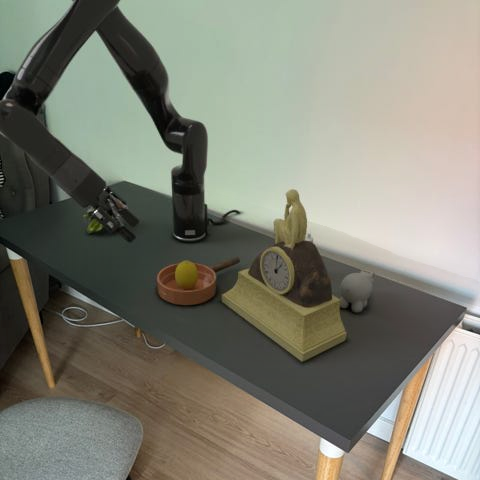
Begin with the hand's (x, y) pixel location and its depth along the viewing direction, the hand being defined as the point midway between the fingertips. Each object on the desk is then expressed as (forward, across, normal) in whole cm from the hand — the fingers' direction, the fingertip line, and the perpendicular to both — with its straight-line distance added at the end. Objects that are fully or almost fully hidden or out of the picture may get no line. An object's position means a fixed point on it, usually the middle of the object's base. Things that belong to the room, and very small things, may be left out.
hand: (135, 231), depth 116 cm
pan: (+19, 0, +2) cm, 19 cm away
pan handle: (+24, +7, -6) cm, 26 cm away
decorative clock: (+34, -14, -13) cm, 39 cm away
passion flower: (+3, +37, +20) cm, 42 cm away
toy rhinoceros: (+47, -7, -28) cm, 55 cm away
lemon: (+19, 0, +2) cm, 19 cm away
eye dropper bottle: (+40, +6, -20) cm, 45 cm away
